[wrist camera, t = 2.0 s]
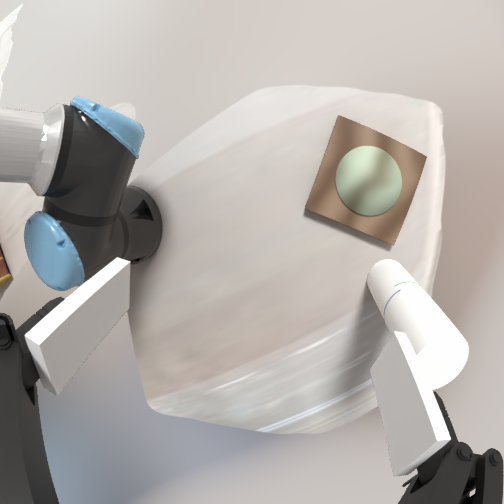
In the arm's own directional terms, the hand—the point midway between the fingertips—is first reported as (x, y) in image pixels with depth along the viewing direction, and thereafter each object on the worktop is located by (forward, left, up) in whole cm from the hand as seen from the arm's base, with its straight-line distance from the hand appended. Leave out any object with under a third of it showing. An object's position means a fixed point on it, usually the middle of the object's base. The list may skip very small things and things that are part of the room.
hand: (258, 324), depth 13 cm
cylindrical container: (+19, -4, -35) cm, 40 cm away
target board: (+9, +10, -35) cm, 38 cm away
